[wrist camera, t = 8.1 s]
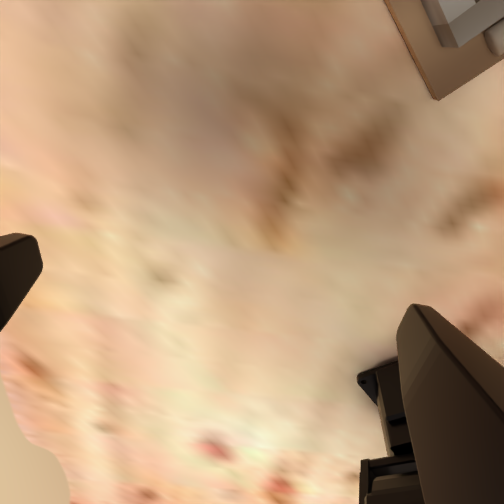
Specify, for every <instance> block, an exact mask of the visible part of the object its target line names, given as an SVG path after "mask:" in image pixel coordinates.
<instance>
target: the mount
mask: <svg viewBox="0 0 504 504" xmlns="http://www.w3.org/2000/svg"><path fill="white" fill-rule="evenodd" d="M384 1H385V3H386V5H387V7H388V9H389V11H390V13H391V15H392V17H393V19H394V21H395V23H396V25H397V27H398V29H399V31H400V33H401V35H402V37H403V39H404V41H405V43H406V45H407V47H408V49H409V51H410V53H411V55H412V57H413V59H414V61H415V63H416V65H417V67H418V69H419V71H420V73H421V75H422V77H423V79H424V81H425V83H426V85H427V87H428V89H429V91H430V93H431V95H432V97H433V99H435V100H438V101H439V100H441V99H442V98H444V97H445V96H447V95H448V94H450V93H452V92H453V91H455V90H456V89H458V88H459V87H461V86H462V85H464V84H465V83H467V82H468V81H470V80H471V79H473V78H475V77H476V76H478V75H479V74H481V73H482V72H484V71H485V70H487V69H488V68H490V67H491V66H493V65H495V64H496V63H498V62H499V61H501V60H502V59H504V0H384Z"/></svg>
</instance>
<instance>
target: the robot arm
mask: <svg viewBox="0 0 504 504" xmlns="http://www.w3.org/2000/svg"><path fill="white" fill-rule="evenodd" d="M42 269H43V262H42V258H41V254H40V250H39V246H38V242H37V240H36V238H35V237H34V236H32V235H27V234H22V233H12V234H8V235H4V236H0V332H1V330H2V329H3V328H4V327H5V325H6V324H7V323H8V321H9V320H10V318H11V317H12V316H13V314H14V313H15V311H16V310H17V308H18V307H19V305H20V304H21V302H22V301H23V299H24V298H25V296H26V295H27V293H28V292H29V290H30V289H31V287H32V286H33V284H34V283H35V281H36V280H37V279H38V277H39V276H40V274H41V272H42ZM396 341H397V351H398V361H396V362H393V363H390V364H388V365H385V366H382V367H379V368H376V369H373V370H371V371H368V372H365V373H362V374H360V375H358V376H357V383H358V384H359V386H360V387H361V388H362V389H363V390H364V391H365V392H366V394H367V395H368V396H369V397H370V398H371V399H372V401H373V402H374V403H375V404H376V405H377V406H378V409H379V414H380V419H381V424H382V429H383V434H384V440H385V445H386V450H387V455H388V457H383V458H378V459H372V460H370V459H363V460H361V472H360V483H359V504H504V367H503V366H502V365H500V364H499V363H498V362H497V361H496V360H494V359H493V358H492V357H491V356H490V355H488V354H487V353H486V352H485V351H484V350H482V349H481V348H480V347H479V346H478V345H476V344H475V343H474V342H473V341H472V340H470V339H469V338H468V337H467V336H466V335H464V334H463V333H462V332H461V331H460V330H458V329H457V328H456V327H455V326H454V325H452V324H451V323H450V322H449V321H447V320H446V319H445V318H444V317H443V316H441V315H440V314H439V313H438V312H437V311H435V310H434V309H433V308H432V307H430V306H426V305H420V304H411V305H410V306H409V307H408V309H407V311H406V313H405V315H404V317H403V319H402V321H401V323H400V325H399V327H398V330H397V334H396Z"/></svg>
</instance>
